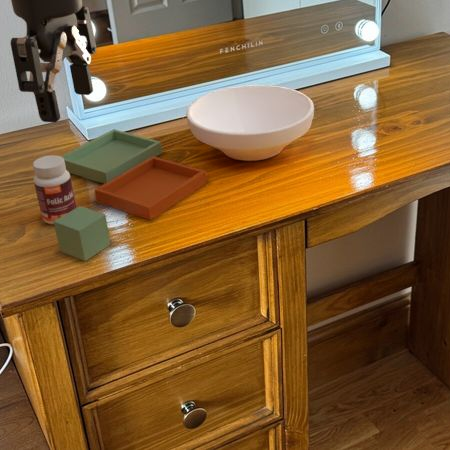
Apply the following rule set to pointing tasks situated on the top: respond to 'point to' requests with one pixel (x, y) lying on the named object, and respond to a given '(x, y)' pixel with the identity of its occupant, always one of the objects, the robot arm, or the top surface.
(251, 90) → the bowl
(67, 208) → the pill bottle
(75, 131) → the top surface
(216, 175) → the top surface
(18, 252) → the top surface
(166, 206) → the reddish-brown tray
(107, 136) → the sage tray
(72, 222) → the sage block
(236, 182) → the top surface
